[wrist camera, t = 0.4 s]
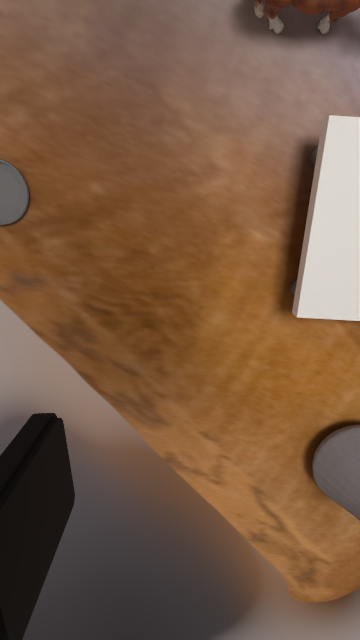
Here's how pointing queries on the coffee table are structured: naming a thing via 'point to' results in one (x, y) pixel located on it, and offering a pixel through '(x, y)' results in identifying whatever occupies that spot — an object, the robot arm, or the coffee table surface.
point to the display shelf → (332, 227)
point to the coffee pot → (340, 468)
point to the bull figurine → (305, 11)
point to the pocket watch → (12, 194)
